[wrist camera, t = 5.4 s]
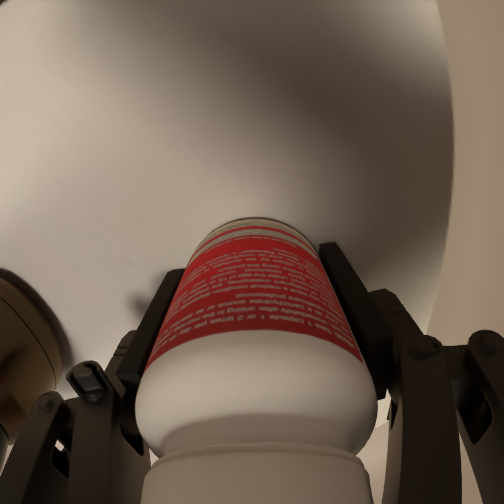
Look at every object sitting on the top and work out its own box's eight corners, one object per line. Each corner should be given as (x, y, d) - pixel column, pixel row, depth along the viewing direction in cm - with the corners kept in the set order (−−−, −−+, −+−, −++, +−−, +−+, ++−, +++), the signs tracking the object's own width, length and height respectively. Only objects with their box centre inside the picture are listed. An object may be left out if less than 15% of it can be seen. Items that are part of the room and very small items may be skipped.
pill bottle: (163, 255, 13) (40, 484, 3) (283, 189, 12) (393, 451, 2) (233, 349, 15) (217, 557, 5) (340, 300, 14) (421, 518, 4)
